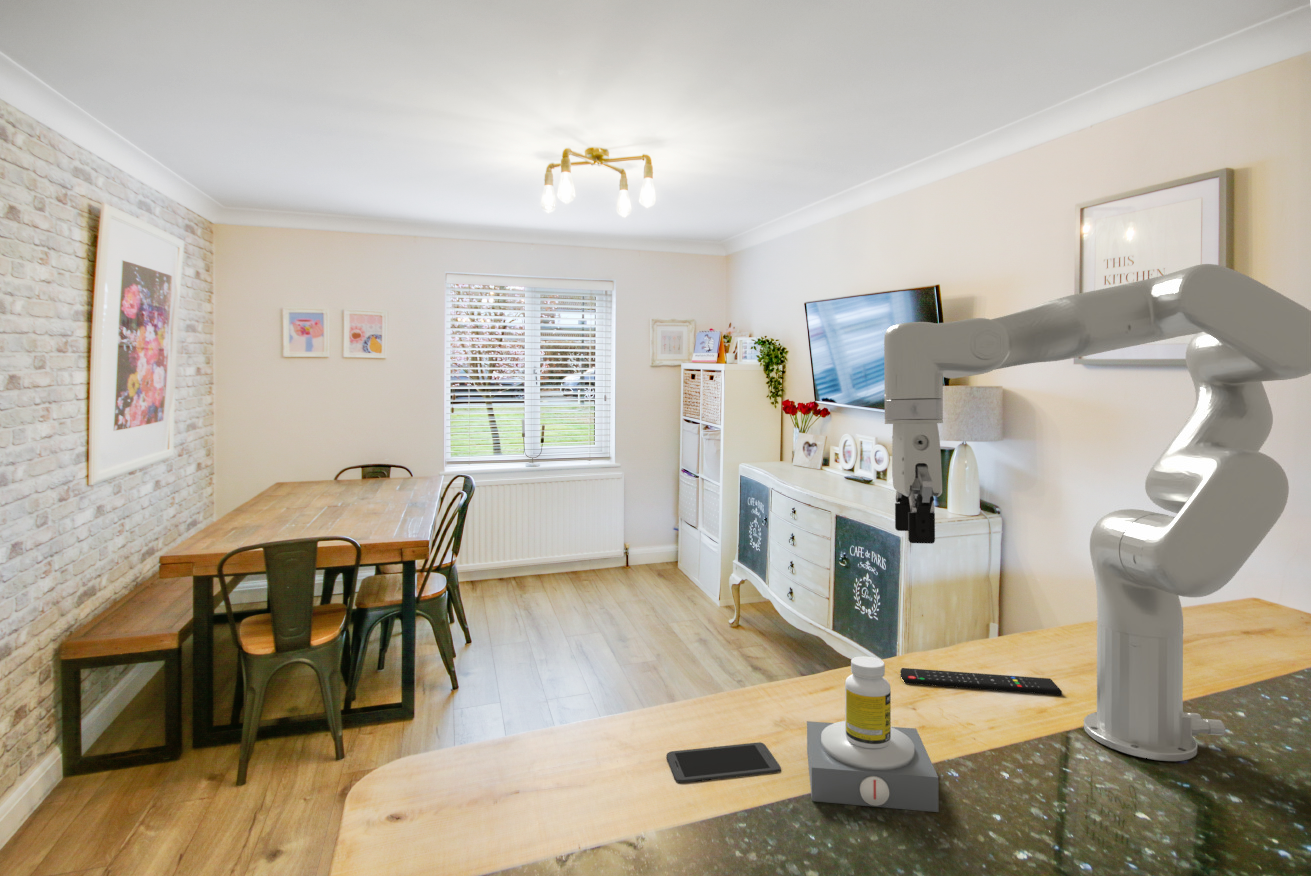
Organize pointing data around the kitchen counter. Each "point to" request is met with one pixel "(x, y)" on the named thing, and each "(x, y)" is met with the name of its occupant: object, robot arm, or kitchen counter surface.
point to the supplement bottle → (868, 704)
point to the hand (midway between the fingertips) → (913, 536)
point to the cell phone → (721, 762)
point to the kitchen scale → (870, 770)
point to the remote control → (980, 681)
